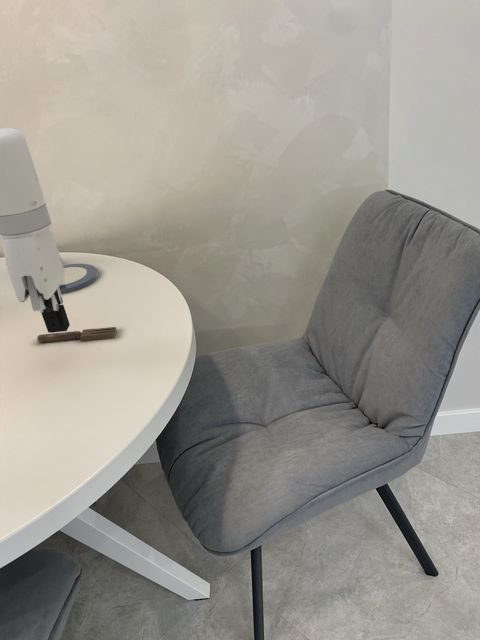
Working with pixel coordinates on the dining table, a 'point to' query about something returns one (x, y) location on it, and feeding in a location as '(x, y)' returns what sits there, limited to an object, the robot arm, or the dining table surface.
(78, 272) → the plate
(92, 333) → the brown wooden dowel
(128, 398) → the dining table surface
